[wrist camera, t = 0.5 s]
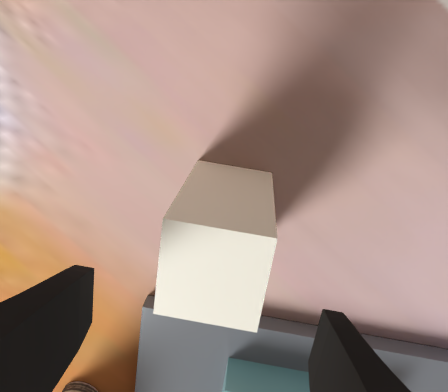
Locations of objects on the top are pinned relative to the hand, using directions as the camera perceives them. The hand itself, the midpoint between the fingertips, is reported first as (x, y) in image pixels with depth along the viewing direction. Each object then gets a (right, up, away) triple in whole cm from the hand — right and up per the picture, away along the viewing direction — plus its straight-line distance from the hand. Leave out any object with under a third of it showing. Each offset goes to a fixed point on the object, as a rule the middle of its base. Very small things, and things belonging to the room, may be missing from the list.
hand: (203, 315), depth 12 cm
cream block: (+1, +3, +10) cm, 10 cm away
